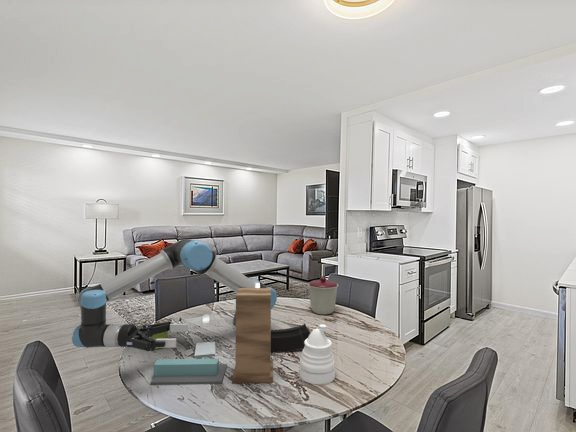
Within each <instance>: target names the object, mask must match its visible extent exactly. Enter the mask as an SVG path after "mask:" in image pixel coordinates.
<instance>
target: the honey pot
mask: <svg viewBox="0 0 576 432" xmlns="http://www.w3.org/2000/svg"><path fill="white" fill-rule="evenodd" d="M326 329H327V325H326V324H319V328H314V329H313V330H312V331H311V334H310V335H309V337H308V338H307V339H306V340H305V341H304V344H305V347H304V349H302V352H301V356H300V357H299V377H300V379H302V380H303V381H305V382H306V383H309V384H311V385H312V384H313V385H320V386H321V385H326V384H329V383H332V382H333V381H334V380H335V378H336V359H335V357H334V354H333V350H332V348H331V347H332V346H333V343H332V341H331V339H329V338H328V337H327V336H326V335H325V333H324V332H325V331H326Z"/></svg>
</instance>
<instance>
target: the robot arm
mask: <svg viewBox="0 0 576 432" xmlns="http://www.w3.org/2000/svg"><path fill="white" fill-rule="evenodd" d="M179 266H183V267H186V268H188V269H189V270H191V271H193V272H194V273H196V274H198V275H199V276H204V275H206V276H208V277H210V278H211V279H213V280H214V281H216V282H217V283H219V284H221V285H223V286H225V287H226V288H228V289H229V290H231V291H232V292H235V293H236V294H237V292H238V290H239V288H271V310H272V309H273V308H274V307H275V305H276V303H277V300H278V297H277V295H278V294H277V291H276V290H275V288H273V287H270V286H267V285H265V284H264V283H262V282H261V281H260V280H259V279H258V278H255V277H253V278H249V277H248V276H246V275H244V274H243V273H242V272H240V271H238V270H237V269H236V268H234V267H232V266H231V265H229V264H228V263H226V261H223V260H221V259H220V258H218V257H217V252H216V251H214V250H213V249H211V247H210V246H209V245H208V244H207V243H205V242H203V241H201V240H200V241H199V240H192V239H187V238H186V239H185V238H184V239H181V240H178V241H176V242H173V244H171V245H167V247H165V248H163V249H161V250H160V251H159V253H158V254H155V255H154V256H152V257H150V258H147V259H146V260H145V261H142V262H140V263H138V264H136V265H134V266H132V267H131V268H128V269H127V270H125V271H122V272H121V273H119V274H116V275H114V276H113V277H110V278H108V279H107V280H104V281H103V282H101V283H98V284H95V286H93V287H87V288H84V289H82V290H81V291H80V292H79V294H78V297H77V303H78V305H79V309H80V324H79V325H78V326H76V327H75V328H74V329H73V333H72V336H71V343H72V344H73V346H75V347H77V348H119V347H120V348H134V349H136V350H137V349H138V350H141V351H145V352H155V350H156V349H155V347H156V348H160V349H162V348H164V349H165V348H166V349H167V348H172V349H173V348H177V338H167V339H156V341H155V340H153V339H151V338H150V337H152V336H153V335H154V334H158V333H162V332H166V331H168V332H169V333H172V332H173V333H174V332H175V333H176V332H179V333H180V332H182V333H183V332H185V333H186V332H188V331H189V328H188V327H189V323H172V321H171V320H169V321H166V322H157V323H158V324H156V323H153V324H151V323H150V324H143V325H142V327H140V328H137V326H136V325H135V324H134V323H130V324H129V323H125V324H122V323H121V324H120V323H119V324H116V323H115V322H113V323H111V324H110V323H107V302H109V301H110V300H113V299H114V298H116V297H118V296H119V295H122V294H124V293H125V292H127V291H129V290H131V289H132V288H134V287H136V286H138V285H140V284H141V283H144V282H145V281H147V280H149V279H151V278H153V277H154V276H157V275H158V274H160V273H162V272H164V271H166V270H168V269H170V270H173V269H174V268H176V267H179ZM232 324H233V325H234V326H236V311H235V312H234V316H233V318H232ZM167 326H168V327H167Z"/></svg>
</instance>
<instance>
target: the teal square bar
mask: <svg viewBox="0 0 576 432" xmlns="http://www.w3.org/2000/svg"><path fill="white" fill-rule="evenodd" d="M219 364H220V358H172V359H171V358H170V359H169V358H165V359H157V360H156V362H155V363H153V377H155V376H199V375H217V373H218V370H219Z"/></svg>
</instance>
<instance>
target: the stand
mask: <svg viewBox="0 0 576 432" xmlns="http://www.w3.org/2000/svg"><path fill="white" fill-rule="evenodd" d="M271 288H272V287H271ZM271 288H239V290H238V292H237V293H236V294H235V312H236V325H235V351H234V352H235V353H234V354H235V366H234V369H233V374H232V376H231V384H268V383H269V384H273V383H274V360H273V359H272V358H271V354H272V353H271V330H272V329H271V328H272V327H271V326H272V325H271V324H272V309H271Z"/></svg>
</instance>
